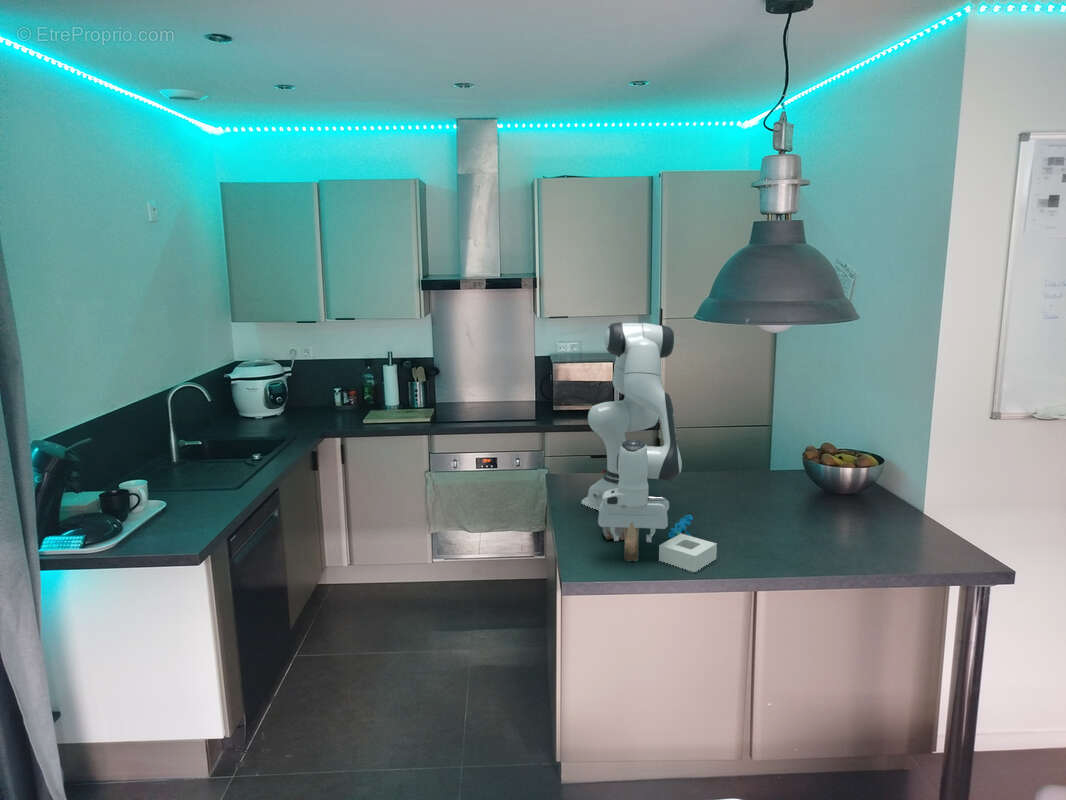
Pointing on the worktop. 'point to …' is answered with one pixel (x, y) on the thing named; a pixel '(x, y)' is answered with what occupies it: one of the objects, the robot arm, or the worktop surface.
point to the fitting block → (687, 552)
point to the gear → (681, 527)
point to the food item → (618, 530)
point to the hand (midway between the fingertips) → (632, 541)
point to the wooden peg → (631, 543)
